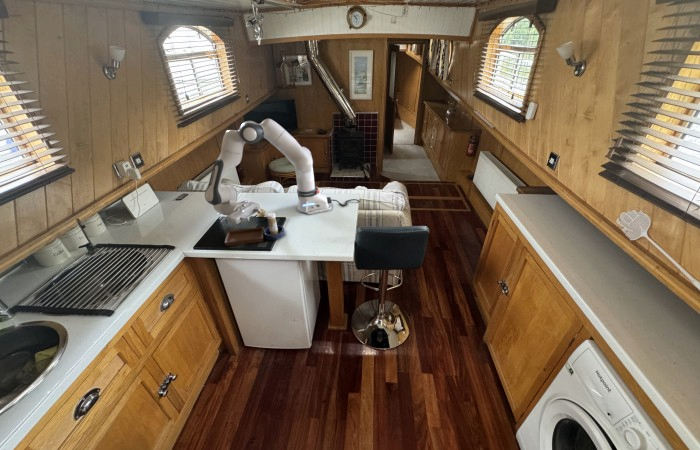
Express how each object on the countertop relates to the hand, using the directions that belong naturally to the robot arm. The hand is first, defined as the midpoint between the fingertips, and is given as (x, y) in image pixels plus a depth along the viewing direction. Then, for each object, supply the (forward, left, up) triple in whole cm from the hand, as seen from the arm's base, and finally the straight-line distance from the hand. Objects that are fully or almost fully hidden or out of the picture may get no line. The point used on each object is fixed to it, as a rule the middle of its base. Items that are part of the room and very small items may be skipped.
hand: (255, 215), depth 162 cm
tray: (+6, +7, -10) cm, 14 cm away
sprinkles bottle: (-10, +7, -10) cm, 16 cm away
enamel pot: (-10, +7, -10) cm, 15 cm away
